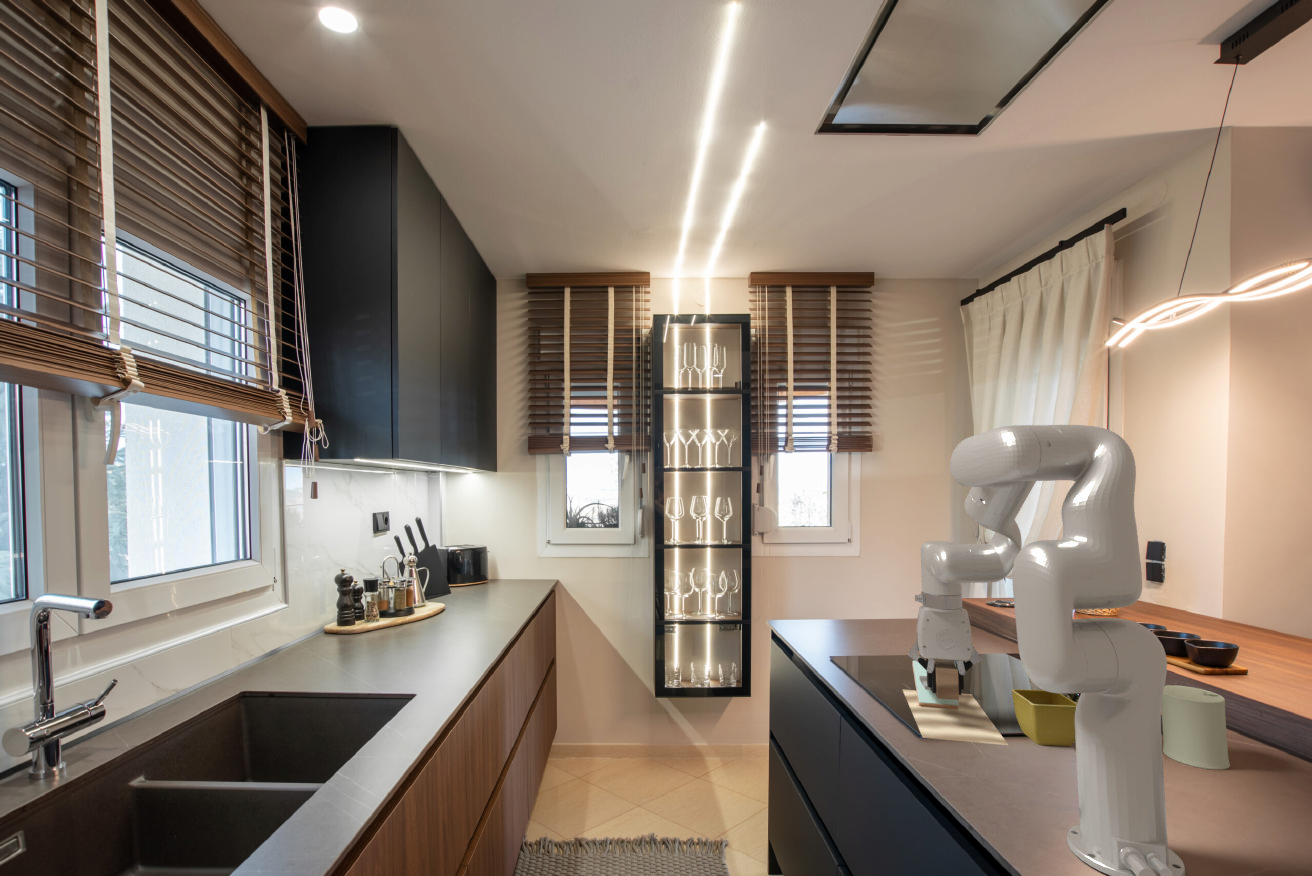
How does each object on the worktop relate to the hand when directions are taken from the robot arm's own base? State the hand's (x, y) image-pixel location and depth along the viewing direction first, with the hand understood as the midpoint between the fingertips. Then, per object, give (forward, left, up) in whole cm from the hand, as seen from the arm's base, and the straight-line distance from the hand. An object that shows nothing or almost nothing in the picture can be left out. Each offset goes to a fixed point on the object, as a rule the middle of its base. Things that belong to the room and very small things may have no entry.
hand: (945, 691), depth 126 cm
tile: (+8, 0, -6) cm, 10 cm away
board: (+5, -1, -7) cm, 9 cm away
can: (-4, -41, -8) cm, 42 cm away
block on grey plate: (+3, 0, -1) cm, 4 cm away
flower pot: (-4, -17, -8) cm, 19 cm away
